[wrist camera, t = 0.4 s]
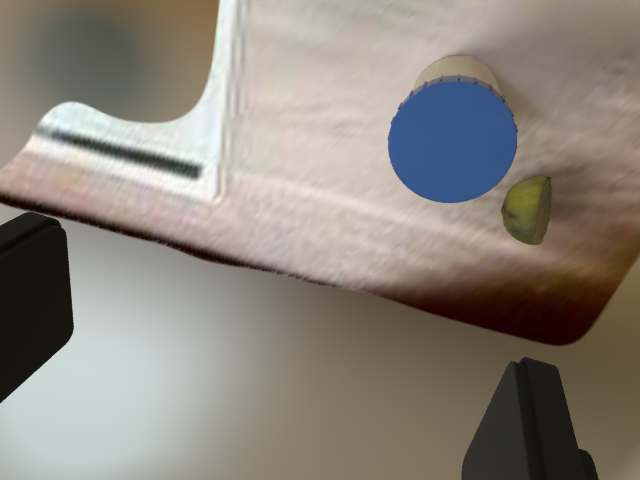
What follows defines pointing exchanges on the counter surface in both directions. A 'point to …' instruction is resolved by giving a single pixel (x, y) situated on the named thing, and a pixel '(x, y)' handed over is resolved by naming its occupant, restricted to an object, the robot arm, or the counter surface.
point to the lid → (452, 139)
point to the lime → (528, 209)
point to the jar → (459, 70)
